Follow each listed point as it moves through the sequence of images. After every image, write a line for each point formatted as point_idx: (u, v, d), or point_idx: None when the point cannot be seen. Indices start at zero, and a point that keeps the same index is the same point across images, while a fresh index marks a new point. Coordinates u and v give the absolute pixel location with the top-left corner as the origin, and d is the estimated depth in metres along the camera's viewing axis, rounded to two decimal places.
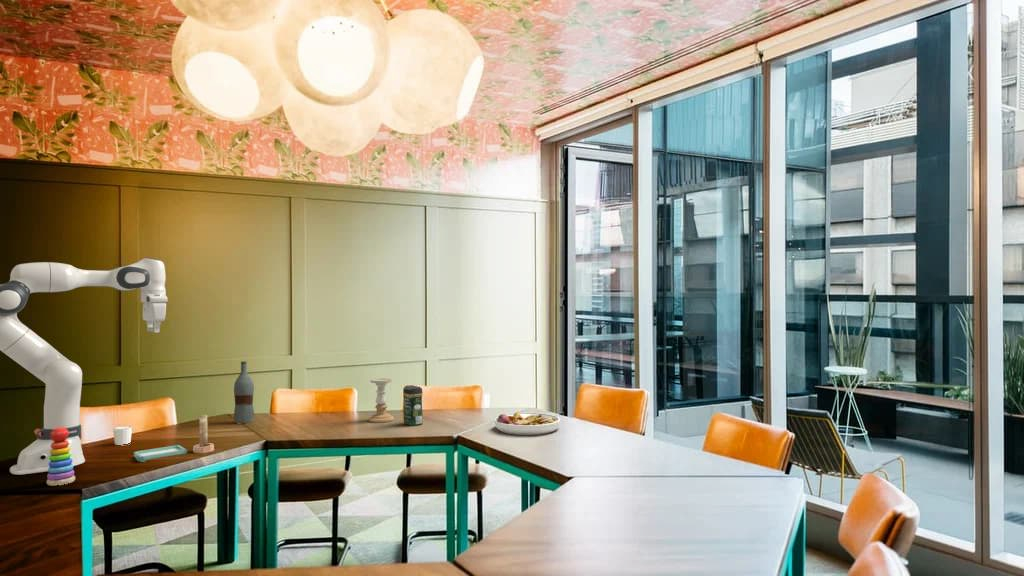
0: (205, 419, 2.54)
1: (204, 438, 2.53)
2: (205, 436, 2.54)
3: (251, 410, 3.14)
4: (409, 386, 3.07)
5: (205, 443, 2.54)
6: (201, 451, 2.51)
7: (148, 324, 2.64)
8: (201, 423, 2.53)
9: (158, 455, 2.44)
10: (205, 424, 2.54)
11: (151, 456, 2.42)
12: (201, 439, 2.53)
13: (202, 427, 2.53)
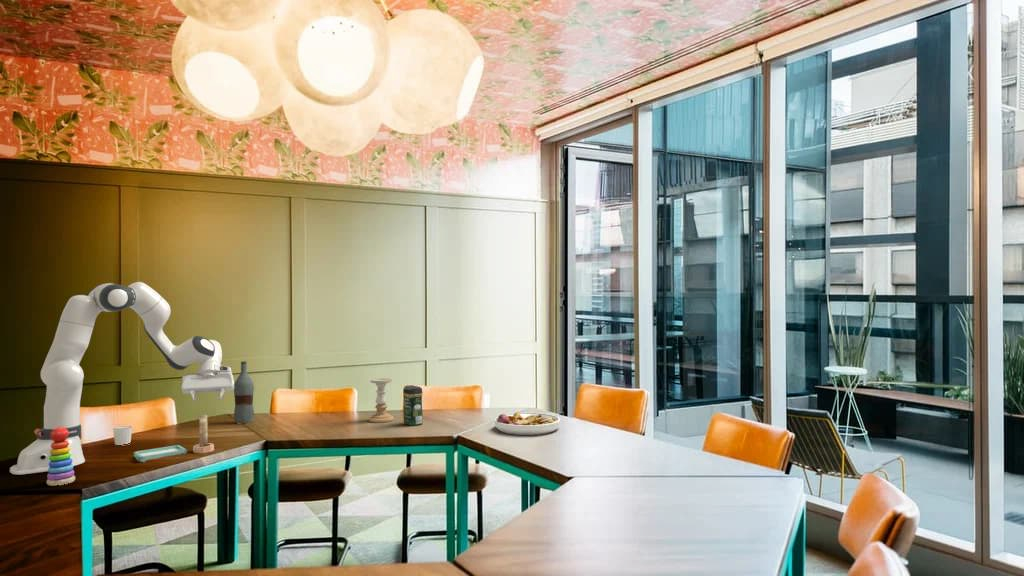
0: (205, 419, 2.54)
1: (204, 438, 2.53)
2: (205, 436, 2.54)
3: (251, 410, 3.14)
4: (409, 386, 3.07)
5: (205, 443, 2.54)
6: (201, 451, 2.51)
7: (193, 393, 2.66)
8: (201, 423, 2.53)
9: (158, 455, 2.44)
10: (205, 424, 2.54)
11: (151, 456, 2.42)
12: (201, 439, 2.53)
13: (202, 427, 2.53)
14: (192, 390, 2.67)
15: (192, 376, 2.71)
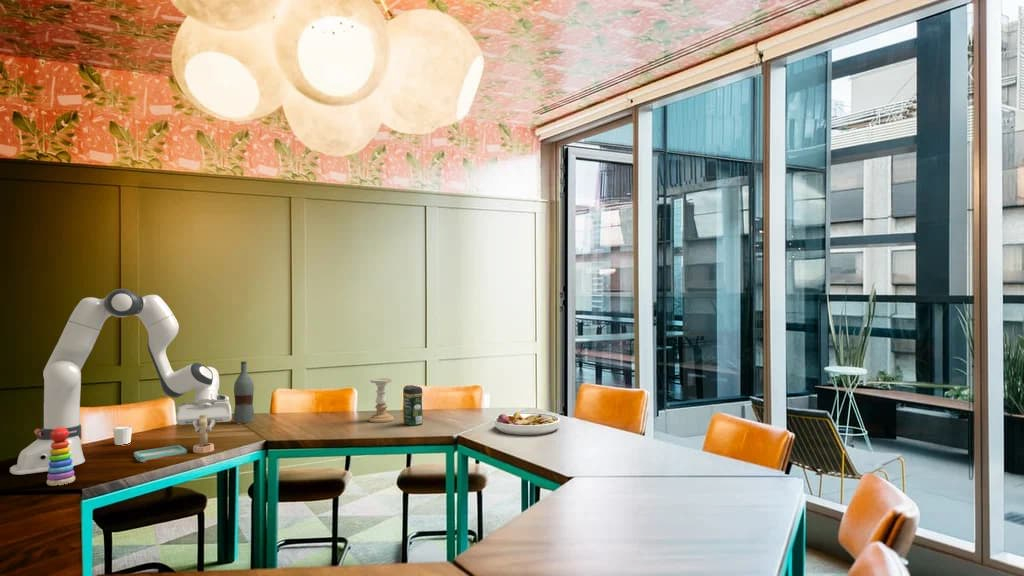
0: (205, 419, 2.54)
1: (204, 438, 2.53)
2: (205, 436, 2.54)
3: (251, 410, 3.14)
4: (409, 386, 3.07)
5: (205, 443, 2.54)
6: (201, 451, 2.51)
7: (195, 424, 2.55)
8: (201, 423, 2.53)
9: (158, 455, 2.44)
10: (205, 424, 2.54)
11: (151, 456, 2.42)
12: (201, 439, 2.53)
13: (202, 427, 2.53)
14: (195, 420, 2.55)
15: (188, 406, 2.58)
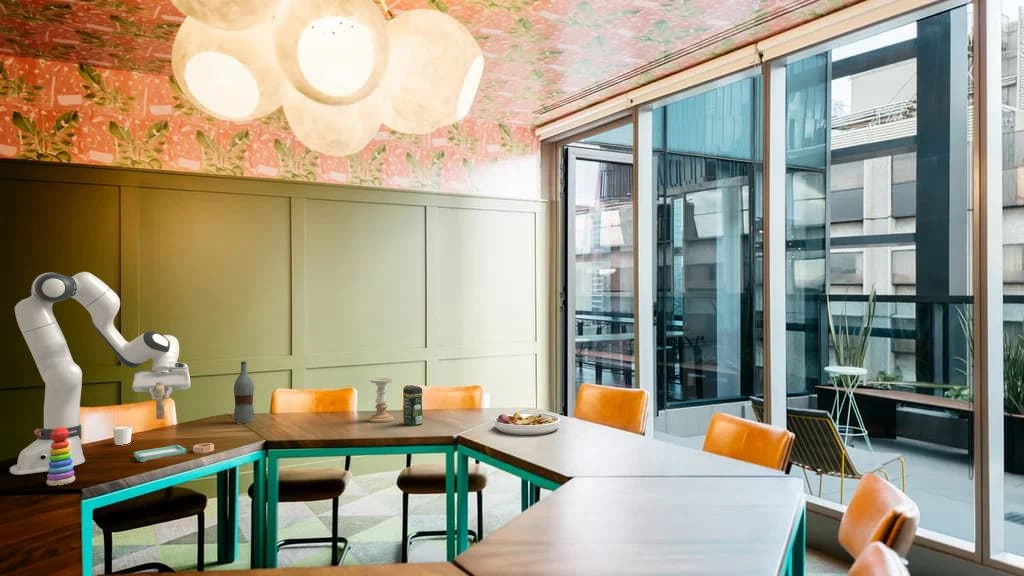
0: (162, 386, 2.49)
1: (160, 405, 2.49)
2: (162, 403, 2.49)
3: (251, 410, 3.14)
4: (409, 386, 3.07)
5: (162, 410, 2.49)
6: (201, 451, 2.51)
7: (152, 391, 2.50)
8: (158, 390, 2.48)
9: (158, 455, 2.44)
10: (162, 391, 2.49)
11: (151, 456, 2.42)
12: (157, 406, 2.48)
13: (158, 394, 2.48)
14: (152, 388, 2.50)
15: (145, 373, 2.53)
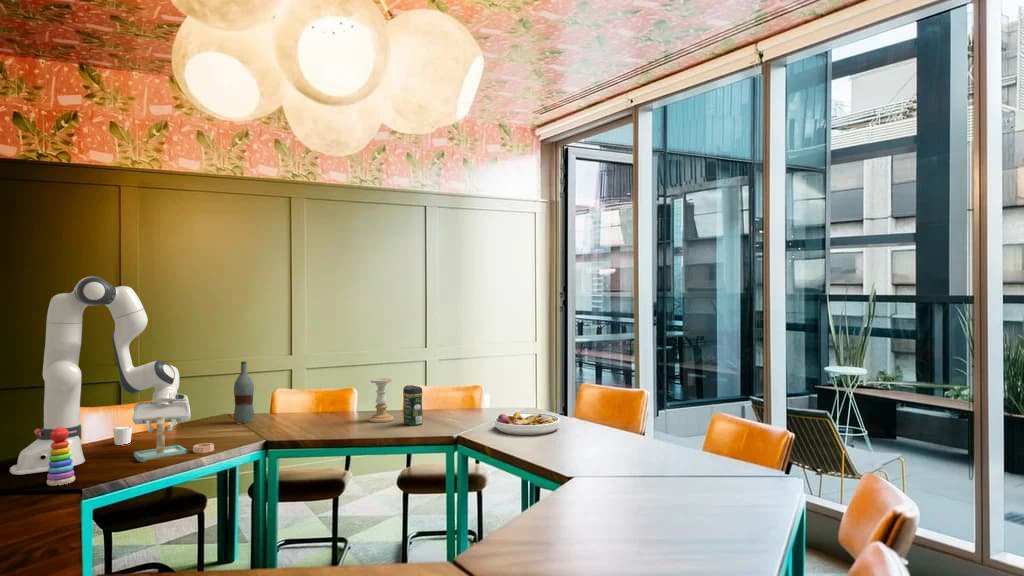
0: (162, 421, 2.49)
1: (161, 440, 2.48)
2: (162, 438, 2.49)
3: (251, 410, 3.14)
4: (409, 386, 3.07)
5: (162, 445, 2.49)
6: (201, 451, 2.51)
7: (149, 424, 2.49)
8: (158, 425, 2.48)
9: (158, 455, 2.44)
10: (162, 426, 2.49)
11: (151, 456, 2.42)
12: (158, 441, 2.48)
13: (159, 429, 2.48)
14: (148, 420, 2.50)
15: (145, 405, 2.53)
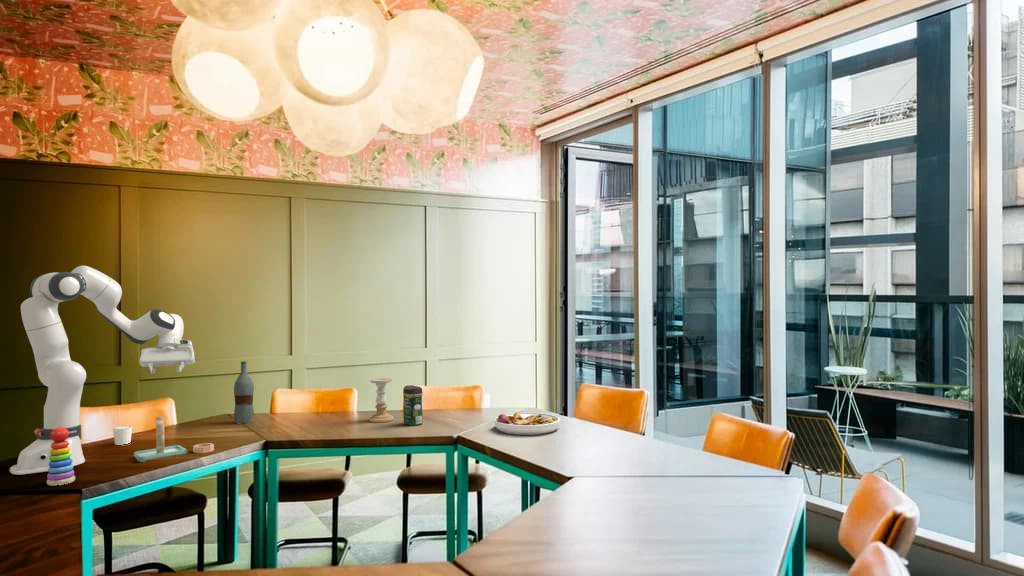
0: (162, 421, 2.49)
1: (160, 440, 2.48)
2: (162, 438, 2.49)
3: (251, 410, 3.14)
4: (409, 386, 3.07)
5: (162, 445, 2.49)
6: (201, 451, 2.51)
7: (151, 366, 2.61)
8: (158, 425, 2.48)
9: (158, 455, 2.44)
10: (162, 426, 2.49)
11: (151, 456, 2.42)
12: (158, 441, 2.48)
13: (158, 429, 2.48)
14: (150, 363, 2.62)
15: (151, 349, 2.66)
